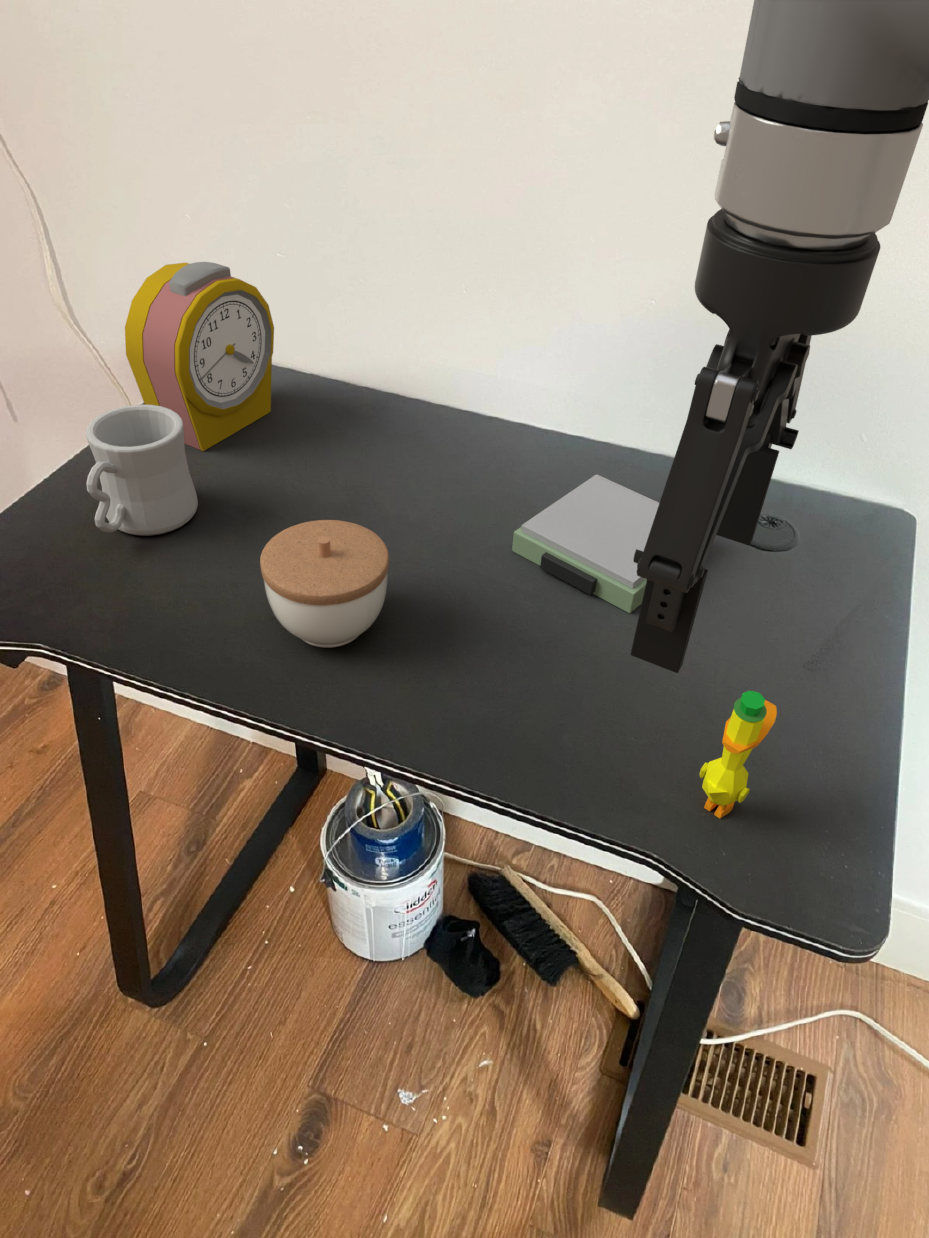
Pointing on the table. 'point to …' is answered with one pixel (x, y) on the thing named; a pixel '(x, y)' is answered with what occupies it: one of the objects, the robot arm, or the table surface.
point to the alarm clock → (202, 349)
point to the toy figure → (737, 752)
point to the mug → (140, 470)
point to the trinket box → (325, 580)
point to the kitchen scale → (592, 540)
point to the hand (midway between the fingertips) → (696, 593)
